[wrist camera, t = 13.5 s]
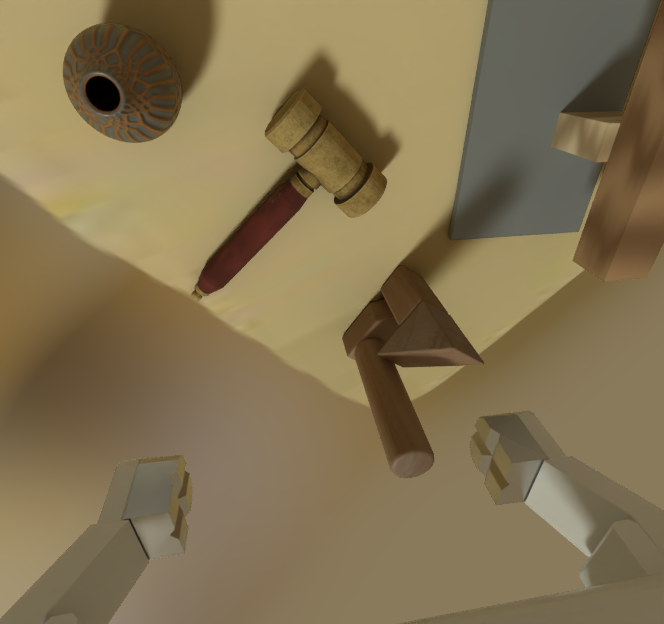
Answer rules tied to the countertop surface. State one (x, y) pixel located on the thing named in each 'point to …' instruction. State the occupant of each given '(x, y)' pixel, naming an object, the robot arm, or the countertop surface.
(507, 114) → the slate mat
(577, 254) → the walnut bar
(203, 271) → the gavel
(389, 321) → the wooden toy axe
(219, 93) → the countertop surface
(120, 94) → the vase
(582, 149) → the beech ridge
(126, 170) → the countertop surface
